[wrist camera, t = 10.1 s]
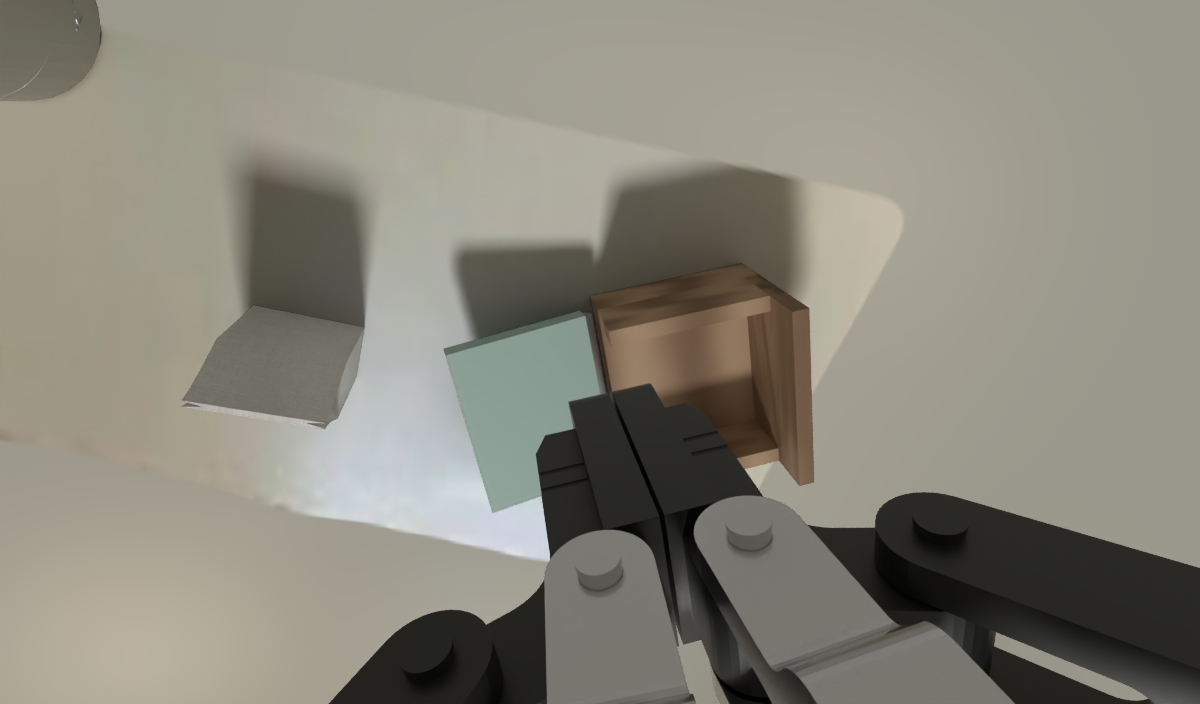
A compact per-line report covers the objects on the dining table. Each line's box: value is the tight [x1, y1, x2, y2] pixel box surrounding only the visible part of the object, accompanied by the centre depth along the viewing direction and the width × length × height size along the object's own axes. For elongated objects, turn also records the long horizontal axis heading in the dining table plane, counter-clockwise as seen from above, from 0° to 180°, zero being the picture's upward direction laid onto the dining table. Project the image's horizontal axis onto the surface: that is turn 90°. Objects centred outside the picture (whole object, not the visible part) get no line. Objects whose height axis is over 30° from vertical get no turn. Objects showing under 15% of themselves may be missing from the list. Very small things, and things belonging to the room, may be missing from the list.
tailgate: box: [444, 311, 607, 513], centre depth 41 cm, size 1×12×10 cm
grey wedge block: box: [181, 305, 365, 429], centre depth 36 cm, size 4×7×10 cm, turn 73°
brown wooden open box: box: [591, 263, 814, 486], centre depth 41 cm, size 11×12×10 cm
